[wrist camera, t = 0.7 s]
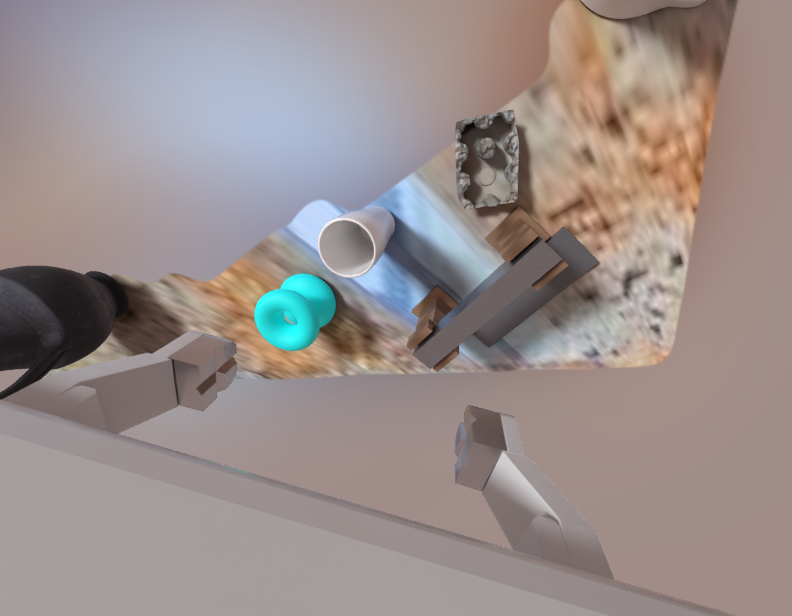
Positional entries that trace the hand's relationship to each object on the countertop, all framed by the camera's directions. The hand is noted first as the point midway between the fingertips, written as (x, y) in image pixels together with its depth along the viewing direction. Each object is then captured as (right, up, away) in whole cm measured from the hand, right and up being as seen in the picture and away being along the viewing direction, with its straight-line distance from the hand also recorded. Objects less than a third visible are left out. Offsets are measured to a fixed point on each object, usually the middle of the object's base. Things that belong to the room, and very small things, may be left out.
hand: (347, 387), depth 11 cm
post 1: (+9, +2, +41) cm, 42 cm away
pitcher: (-54, +5, +52) cm, 75 cm away
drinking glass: (-1, +15, +37) cm, 40 cm away
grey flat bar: (+21, +5, +37) cm, 43 cm away
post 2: (+19, +13, +34) cm, 41 cm away
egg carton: (+13, +22, +31) cm, 40 cm away
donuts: (-13, +4, +44) cm, 46 cm away
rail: (+12, +3, +28) cm, 31 cm away
